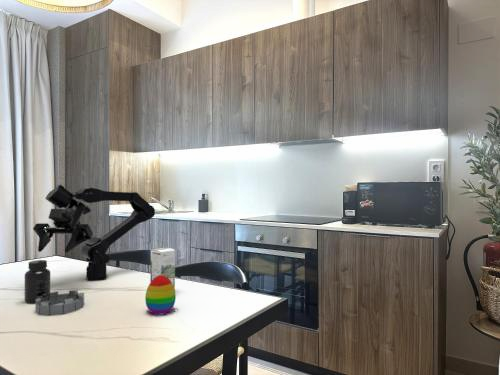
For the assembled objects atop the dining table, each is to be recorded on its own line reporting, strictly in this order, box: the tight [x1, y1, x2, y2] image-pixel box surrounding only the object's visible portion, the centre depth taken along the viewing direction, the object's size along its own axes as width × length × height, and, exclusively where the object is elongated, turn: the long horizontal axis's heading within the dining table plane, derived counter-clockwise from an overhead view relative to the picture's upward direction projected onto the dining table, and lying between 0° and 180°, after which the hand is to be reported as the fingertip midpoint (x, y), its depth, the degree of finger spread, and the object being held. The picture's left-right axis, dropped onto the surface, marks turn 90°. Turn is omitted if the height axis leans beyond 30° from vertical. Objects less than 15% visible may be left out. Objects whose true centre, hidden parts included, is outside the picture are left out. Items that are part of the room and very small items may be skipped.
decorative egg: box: [144, 275, 177, 315], centre depth 98 cm, size 8×8×10 cm
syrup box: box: [149, 247, 176, 290], centre depth 114 cm, size 6×6×14 cm
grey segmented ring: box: [34, 289, 85, 317], centre depth 100 cm, size 12×12×4 cm
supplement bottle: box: [24, 259, 51, 305], centre depth 107 cm, size 7×7×12 cm
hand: (52, 251), depth 115 cm, fingers open, 9 cm apart
